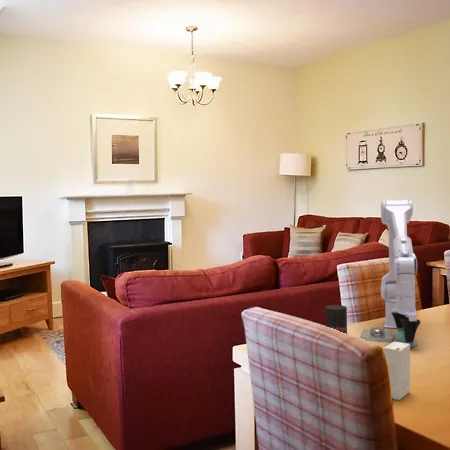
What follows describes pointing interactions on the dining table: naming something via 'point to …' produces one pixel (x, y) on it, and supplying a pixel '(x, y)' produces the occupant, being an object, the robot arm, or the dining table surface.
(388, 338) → the post plinth
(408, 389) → the skincare box
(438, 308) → the dining table surface
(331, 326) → the deodorant
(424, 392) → the dining table surface
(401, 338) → the cap
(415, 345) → the coaster
